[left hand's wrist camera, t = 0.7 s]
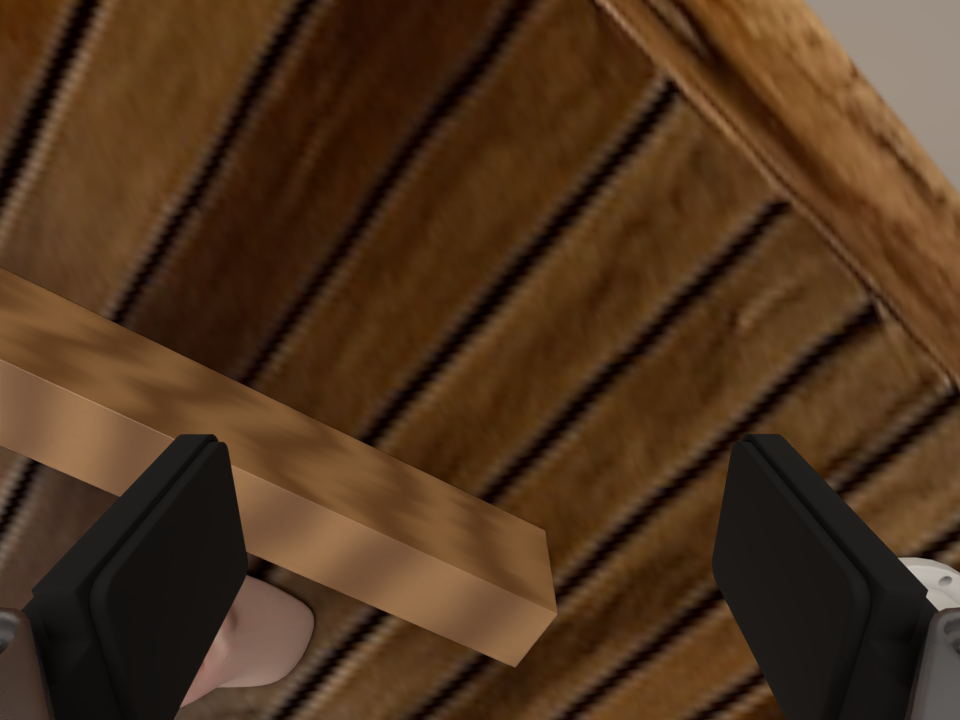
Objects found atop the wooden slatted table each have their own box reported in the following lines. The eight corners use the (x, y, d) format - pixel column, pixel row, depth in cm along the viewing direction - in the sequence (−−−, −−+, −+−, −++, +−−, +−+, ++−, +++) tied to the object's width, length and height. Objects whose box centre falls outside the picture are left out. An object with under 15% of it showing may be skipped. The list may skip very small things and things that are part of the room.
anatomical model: (302, 625, 39) (293, 749, 43) (318, 581, 42) (308, 699, 47) (90, 598, 38) (101, 726, 42) (125, 555, 42) (132, 677, 46)
